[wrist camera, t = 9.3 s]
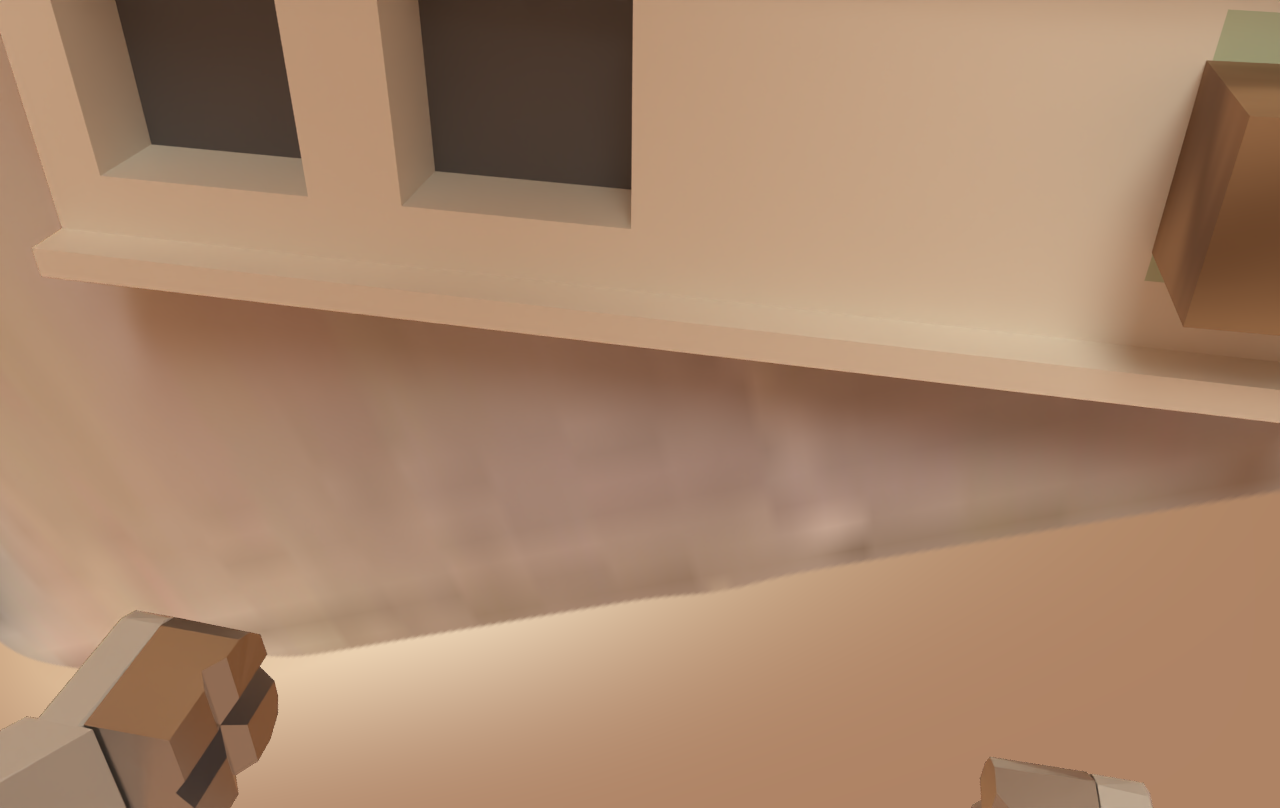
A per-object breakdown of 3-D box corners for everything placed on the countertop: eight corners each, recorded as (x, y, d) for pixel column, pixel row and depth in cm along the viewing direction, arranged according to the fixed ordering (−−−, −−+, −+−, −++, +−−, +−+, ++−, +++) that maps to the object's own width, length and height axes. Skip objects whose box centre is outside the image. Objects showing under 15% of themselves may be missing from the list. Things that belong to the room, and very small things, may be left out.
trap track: (7, -200, 31) (-179, -175, 26) (1568, -141, 24) (1750, -90, 19) (123, 218, 38) (-3, 306, 33) (1348, 350, 32) (1437, 485, 26)
